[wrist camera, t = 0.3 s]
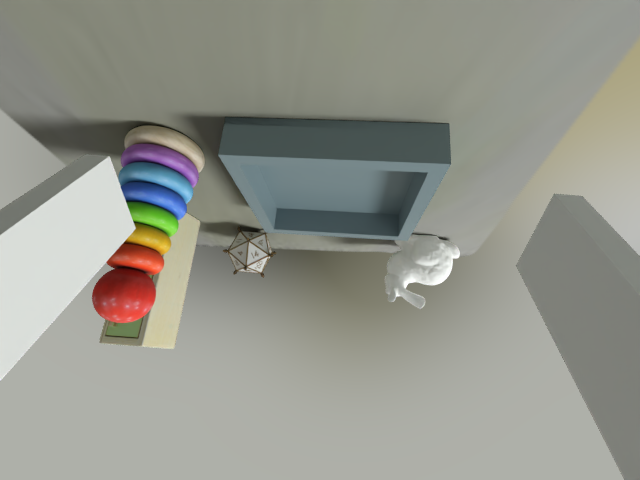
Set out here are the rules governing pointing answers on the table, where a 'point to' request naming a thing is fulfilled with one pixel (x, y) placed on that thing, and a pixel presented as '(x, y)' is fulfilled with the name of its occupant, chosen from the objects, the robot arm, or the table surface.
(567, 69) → the table surface
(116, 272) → the stacking toy
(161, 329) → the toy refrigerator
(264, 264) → the game die
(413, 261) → the rabbit
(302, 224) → the tray
